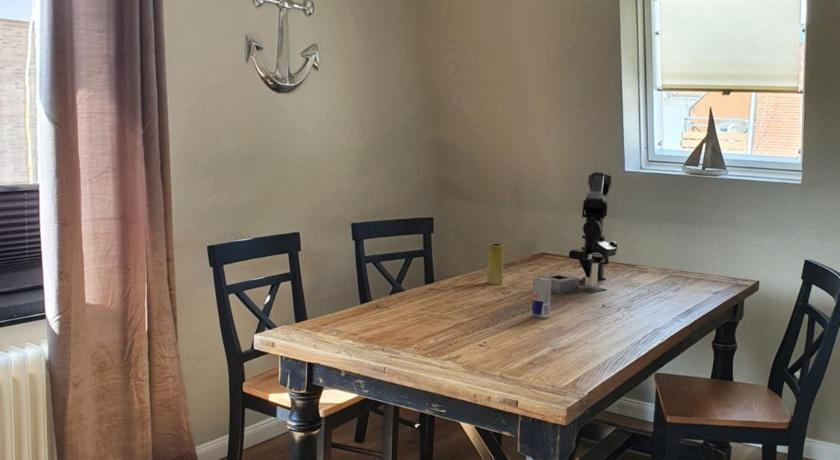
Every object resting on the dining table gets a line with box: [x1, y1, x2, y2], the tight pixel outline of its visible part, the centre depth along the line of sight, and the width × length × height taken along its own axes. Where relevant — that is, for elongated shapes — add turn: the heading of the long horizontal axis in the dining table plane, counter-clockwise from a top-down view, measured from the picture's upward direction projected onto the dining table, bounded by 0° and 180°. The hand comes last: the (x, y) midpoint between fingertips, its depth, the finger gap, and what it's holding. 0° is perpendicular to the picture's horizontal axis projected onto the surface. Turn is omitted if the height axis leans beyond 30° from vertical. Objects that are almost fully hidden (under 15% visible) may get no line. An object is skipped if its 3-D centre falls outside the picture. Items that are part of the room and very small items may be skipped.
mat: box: [579, 285, 608, 294], centre depth 304 cm, size 8×8×1 cm
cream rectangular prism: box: [584, 262, 598, 287], centre depth 304 cm, size 3×3×8 cm
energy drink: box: [531, 276, 552, 320], centre depth 264 cm, size 5×5×12 cm
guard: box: [539, 273, 580, 295], centre depth 303 cm, size 10×10×4 cm
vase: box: [486, 242, 504, 286], centre depth 311 cm, size 6×6×14 cm
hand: (591, 276), depth 304 cm, fingers closed on cream rectangular prism, 3 cm apart
